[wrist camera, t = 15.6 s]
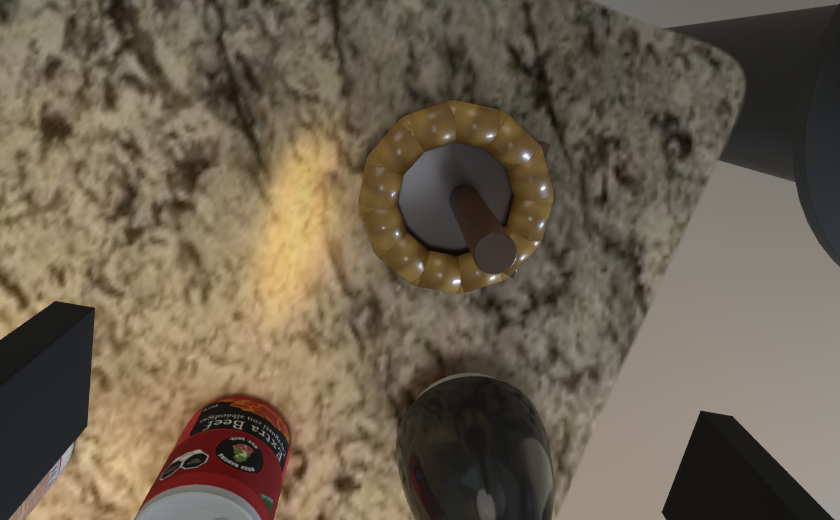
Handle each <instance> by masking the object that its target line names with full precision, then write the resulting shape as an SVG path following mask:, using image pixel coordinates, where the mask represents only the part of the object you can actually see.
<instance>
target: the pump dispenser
mask: <svg viewBox="0 0 840 520" xmlns="http://www.w3.org/2000/svg"><path fill="white" fill-rule="evenodd" d="M396 457H397V465H398V470H399V475H400V479H401V483H402V487H403V490H404V494H405V497H406V500H407V502H408V505H409V508H410V510H411V512H412V515H413V517H414V519H415V520H551V519H552V512H553V501H554V476H553V466H552V458H551V453H550V447H549V442H548V438H547V434H546V430H545V427H544V424H543V422H542V419H541V417H540V415H539V413H538V411H537V409H536V408H535V406H534V405H533V403H532V402H531V401H530V399H529V398H528V397H527V396H526V395H525V394H523V393H522V392H521V391H520V390H518V389H517V388H515V387H514V386H512V385H510V384H508V383H506V382H504V381H502V380H500V379H497V378H495V377H492V376H489V375H485V374H480V373H459V374H454V375H451V376H448V377H445V378H442V379H440V380H438V381H436V382H435V383H433V384H432V385H430V386H429V387H428V388H426V389H425V390H424V391H423V392H422V393H421V394H420V395H419V396H418V397H417V399H416V400H415V401H414V402H413V403H412V404H411V406H410V407H409V408H408V410H407V411H406V413H405V415H404V416H403V418H402V420H401V423H400V426H399V429H398V433H397V439H396Z"/></svg>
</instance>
